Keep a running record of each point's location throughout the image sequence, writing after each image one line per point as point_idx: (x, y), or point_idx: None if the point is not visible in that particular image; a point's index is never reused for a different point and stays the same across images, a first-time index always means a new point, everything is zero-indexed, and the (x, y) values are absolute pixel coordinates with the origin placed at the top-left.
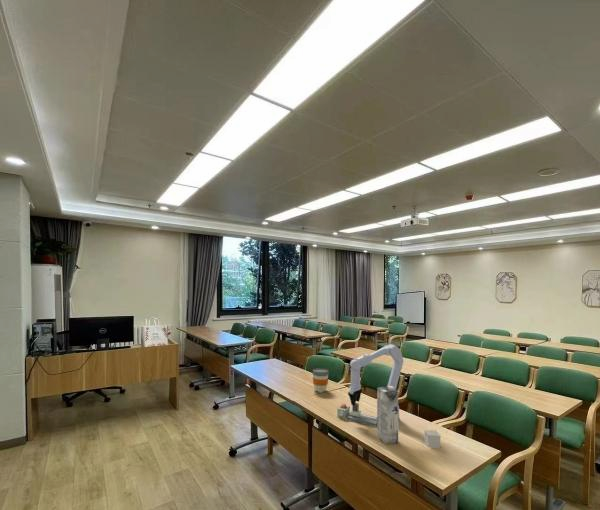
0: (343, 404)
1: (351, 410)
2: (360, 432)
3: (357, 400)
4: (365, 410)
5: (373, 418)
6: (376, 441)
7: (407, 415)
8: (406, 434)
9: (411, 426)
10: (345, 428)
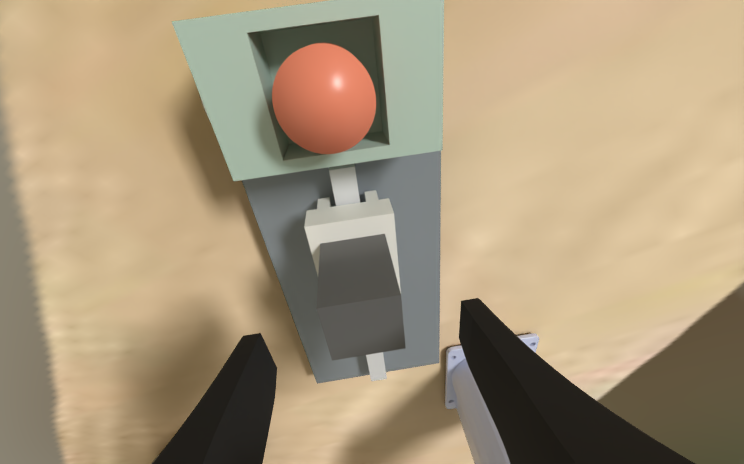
0: (325, 97)
1: (324, 229)
2: (144, 351)
3: (464, 335)
4: (598, 196)
5: (368, 366)
6: (140, 432)
7: (588, 393)
8: (341, 456)
9: (446, 440)
10: (73, 257)
